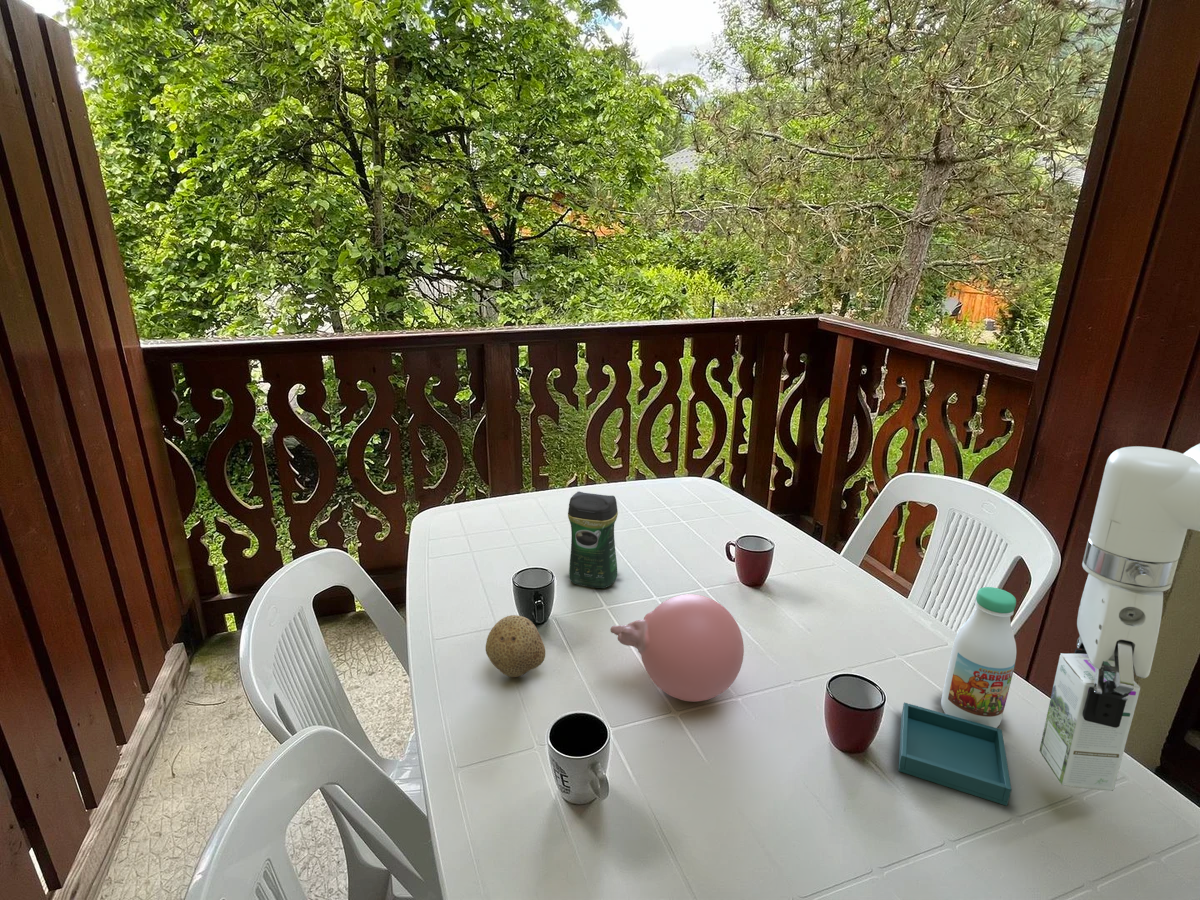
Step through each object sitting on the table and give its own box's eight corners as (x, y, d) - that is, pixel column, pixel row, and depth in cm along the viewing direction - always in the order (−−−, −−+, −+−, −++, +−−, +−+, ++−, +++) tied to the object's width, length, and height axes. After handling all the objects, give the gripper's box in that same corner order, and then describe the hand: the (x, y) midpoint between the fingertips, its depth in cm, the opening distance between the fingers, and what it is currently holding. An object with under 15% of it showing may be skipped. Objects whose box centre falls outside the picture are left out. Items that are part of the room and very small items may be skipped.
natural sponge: (479, 664, 103) (476, 610, 100) (530, 649, 107) (528, 597, 104) (497, 698, 96) (494, 641, 93) (551, 680, 100) (550, 625, 97)
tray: (998, 744, 87) (1001, 729, 87) (1007, 806, 78) (1011, 789, 77) (901, 716, 93) (903, 702, 92) (898, 771, 83) (901, 755, 82)
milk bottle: (928, 702, 96) (952, 584, 89) (968, 692, 98) (994, 576, 92) (970, 738, 89) (999, 613, 82) (1013, 726, 91) (1044, 604, 85)
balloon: (618, 649, 107) (620, 568, 103) (739, 664, 104) (746, 581, 99) (600, 711, 93) (601, 621, 88) (740, 732, 89) (748, 638, 85)
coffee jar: (621, 574, 132) (622, 490, 126) (609, 593, 125) (610, 505, 119) (577, 566, 135) (577, 484, 129) (563, 584, 128) (562, 499, 122)
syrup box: (1115, 792, 73) (1146, 686, 69) (1059, 787, 74) (1085, 681, 70) (1087, 755, 79) (1114, 655, 74) (1035, 750, 79) (1058, 651, 75)
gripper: (1204, 610, 59) (1156, 764, 64) (1148, 536, 74) (1113, 666, 79) (1104, 593, 62) (1067, 741, 67) (1069, 525, 77) (1041, 651, 82)
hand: (1092, 700), depth 73 cm, fingers closed on syrup box, 6 cm apart
